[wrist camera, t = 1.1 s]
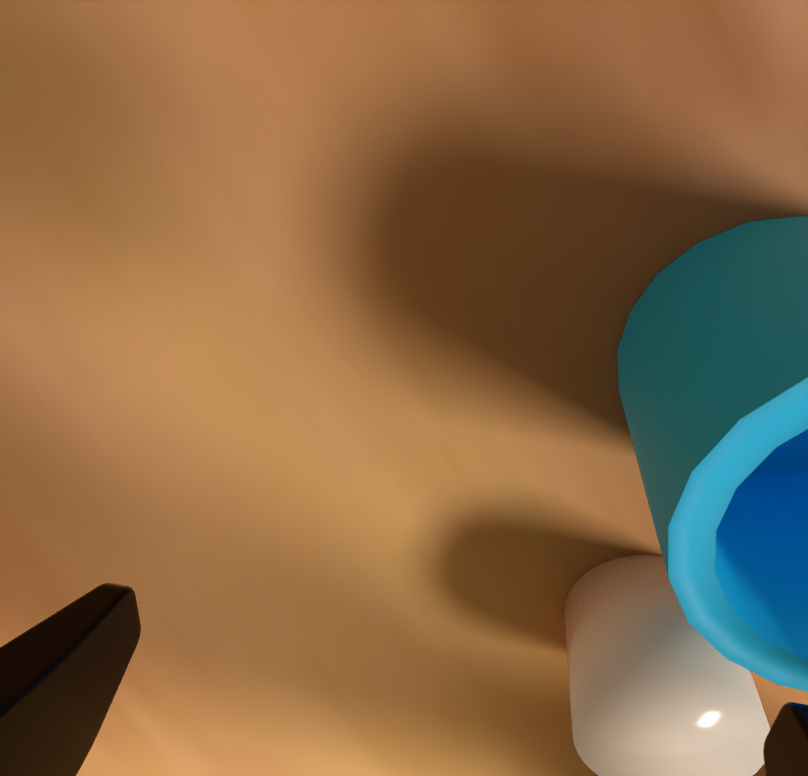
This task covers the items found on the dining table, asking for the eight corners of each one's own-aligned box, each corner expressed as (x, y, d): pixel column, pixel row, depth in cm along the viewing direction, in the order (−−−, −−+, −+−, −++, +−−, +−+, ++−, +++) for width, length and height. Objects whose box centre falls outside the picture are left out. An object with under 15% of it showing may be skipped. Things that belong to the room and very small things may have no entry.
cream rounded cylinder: (703, 679, 25) (740, 812, 21) (553, 653, 26) (559, 779, 21) (746, 567, 23) (799, 694, 18) (578, 543, 23) (590, 659, 19)
